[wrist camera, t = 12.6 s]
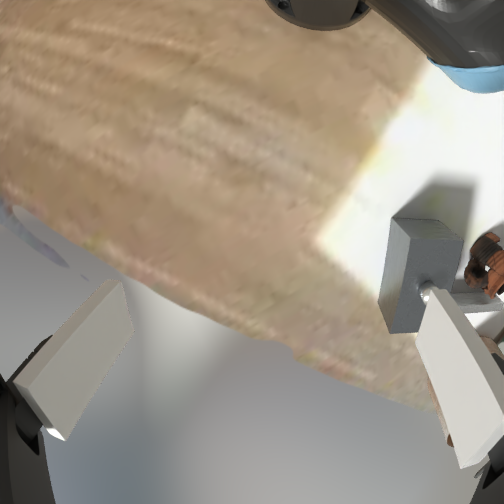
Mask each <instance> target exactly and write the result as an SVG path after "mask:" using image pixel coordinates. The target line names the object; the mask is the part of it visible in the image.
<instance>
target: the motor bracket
mask: <svg viewBox="0 0 504 504" xmlns="http://www.w3.org/2000/svg"><path fill="white" fill-rule="evenodd" d="M462 246H463V240H462V239H461V238H460V237H459V236H457V235H456V234H455V233H454V232H453V231H451V230H450V229H449V228H448V227H446V226H445V225H444V224H443V223H441V222H440V221H439V220H423V219H406V218H391V224H390V232H389V240H388V247H387V253H386V260H385V266H384V272H383V278H382V283H381V289H380V294H379V299H378V304H379V307H380V309H381V312H382V314H383V317H384V320H385V322H386V325H387V327H388V330H389V333H390V334H394V333H415V332H419V329H420V326H421V323H422V319H423V316H424V313H425V309H426V306H427V302H428V299H429V295H430V291H431V290H439V289H446V290H447V291H448V293H449V294H450V295H451V297H452V298H453V299H454V301H455V302H456V303H457V305H458V306H459V307H460V309H461V310H462V312H463V313H478V312H490V311H500V310H501V309H502V306H503V304H504V303H503V302H502V301H501V299H500V298H499V297H498V296H497V295H496V294H495V295H496V297H495V298H494V299H490V296H489V295H488V294H485V292H475V293H451V290H452V286H453V283H454V279H455V275H456V271H457V268H458V264H459V259H460V255H461V251H462Z"/></svg>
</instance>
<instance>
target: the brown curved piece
mask: <svg viewBox="0 0 504 504" xmlns="http://www.w3.org/2000/svg"><path fill="white" fill-rule="evenodd" d="M499 241H500V238H499V237H498V236H496V235H495V234H493V233H492V232H491V233H488V234H486V235H485V236H483V237H482V238H480V239H479V240H478V241H477V242H476V243H475V244H474V245H473V247H472V248H471V250H470V253H471V254H472V256H473V258H474V259H472V260H470V261H469V262H468V265H467V267H466V268H465V271H464V278H465V282H466V283H467V285H468V286H469V287H471V288H474V289H476V288H482V289H484V292H485V294H488V295H489V296H490V299H494V298H495V297H496V295H495V293H496V292H497V294H498V295H500V294H502V293H503V292H504V250H503V249H502V248H501V247H500V246H499V245H498V244H496V243H497V242H499ZM485 266H488V267H490V269H489V270H488V272H487V271H486V270H485Z"/></svg>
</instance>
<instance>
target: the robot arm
mask: <svg viewBox="0 0 504 504" xmlns="http://www.w3.org/2000/svg"><path fill="white" fill-rule="evenodd" d="M265 1H266V3H267V4H268V5H269V7H270V8H271V9H272V10H273V11H274V12H275V13H276V14H277V15H279V16H280V17H282V18H283V19H285V20H286V21H288V22H290V23H292V24H295V25H297V26H300V27H303V28H307V29H312V30H320V31H331V30H339V29H343V28H346V27H349V26H351V25H353V24H355V23H357V22H358V21H360V20H361V19H362V18H363V17H364V16H365V15H366V14H367V12H368V11H369V9H370V8H372V9H373V10H374V11H376V12H377V13H378V14H379V15H381V16H382V17H383V18H385V19H386V20H387V21H388V22H390V23H391V24H392V25H393V26H394V27H396V28H397V29H398V30H399V31H400V32H401V33H403V34H404V35H405V36H406V37H407V38H408V39H409V40H411V41H412V42H413V43H414V44H415V45H416V46H417V47H418V48H419V49H420V50H421V51H422V52H423V53H424V54H425V55H426V56H427V59H428V60H429V61H430V62H431V63H432V64H434V65H435V66H437V67H439V68H440V69H441V70H442V71H443V72H444V73H445V74H446V75H447V76H448V77H449V78H450V79H451V80H452V81H453V82H454V83H455V84H456V85H458V86H459V87H461V88H463V89H466V90H469V91H470V92H474V93H495V92H500V91H504V0H265ZM134 332H135V331H134V327H133V324H132V321H131V317H130V313H129V310H128V306H127V302H126V298H125V294H124V290H123V286H122V282H121V281H119V280H106V281H105V282H104V283H103V284H102V285H101V286H100V287H99V288H98V289H97V290H96V291H95V292H94V293H93V294H92V295H91V296H90V297H89V298H88V299H87V300H86V301H85V302H84V303H83V304H82V305H81V306H80V307H79V308H78V309H77V311H75V312H74V313H73V314H72V316H71V317H70V318H69V319H68V320H67V321H66V322H65V323H64V324H63V325H62V326H61V327H60V328H59V329H58V330H57V332H56V333H55V334H54V335H51V336H49V337H48V338H47V339H45V340H43V341H42V342H41V343H40V344H39V345H38V346H37V347H36V348H35V349H34V352H32V353H31V354H30V355H29V356H28V359H25V361H24V362H23V363H22V364H21V365H20V366H19V368H18V369H17V370H16V371H15V372H14V374H13V375H12V376H11V377H10V378H9V379H8V381H7V382H5V381H4V379H3V377H2V376H1V374H0V504H56V503H55V499H54V495H53V491H52V486H51V481H50V476H49V471H48V466H47V460H46V454H45V446H44V439H43V435H42V432H41V431H40V428H41V427H42V425H44V427H45V428H46V429H47V431H48V432H49V433H50V434H51V435H53V436H55V437H57V438H59V439H62V440H64V441H66V440H67V438H68V437H69V435H70V433H71V431H72V430H73V428H74V427H75V425H76V423H77V422H78V420H79V418H80V416H81V415H82V413H83V412H84V410H85V408H86V407H87V405H88V403H89V402H90V400H91V399H92V397H93V395H94V394H95V392H96V391H97V389H98V387H99V386H100V384H101V383H102V381H103V379H104V378H105V376H106V375H107V373H108V372H109V370H110V369H111V367H112V366H113V364H114V362H115V361H116V359H117V358H118V356H119V355H120V353H121V351H122V350H123V349H124V347H125V346H126V344H127V342H128V341H129V340H130V338H131V337H132V335H133V334H134ZM415 344H416V347H417V349H418V351H419V353H420V356H421V358H422V360H423V363H424V365H425V368H426V370H427V373H428V375H429V378H430V380H431V383H432V385H433V388H434V390H435V393H436V396H437V398H438V401H439V404H440V406H441V409H442V412H443V415H444V418H445V421H446V424H447V426H448V429H449V433H450V436H451V439H452V442H453V445H454V448H455V451H456V455H457V458H458V462H459V465H460V468H461V469H462V468H465V467H468V466H471V465H474V464H477V463H479V462H480V461H481V460H482V459H483V458H484V457H485V456H486V455H487V454H488V455H489V458H490V460H489V462H488V463H487V464H486V465H485V466H483V467H482V468H481V469H480V470H479V471H478V472H477V473H476V475H475V477H474V478H477V477H478V476H479V475H481V474H482V473H483V474H482V476H481V478H480V481H479V484H478V486H477V489H476V491H475V493H474V495H473V498H472V500H471V502H470V504H504V360H503V359H502V358H501V357H500V356H498V355H497V354H496V353H491V354H490V352H489V350H488V349H487V347H486V346H485V344H484V343H483V341H482V339H481V338H480V336H479V335H478V333H477V332H476V330H475V329H474V327H473V326H472V325H471V323H470V322H469V320H468V319H467V317H466V316H465V314H464V313H463V312H462V310H461V309H460V307H459V306H458V305H457V303H456V302H455V301H454V299H453V298H452V297H451V295H450V294H449V293H448V291H447V290H446V289H439V290H431V291H430V295H429V299H428V302H427V306H426V309H425V313H424V316H423V319H422V323H421V326H420V329H419V332H418V335H417V338H416V341H415Z"/></svg>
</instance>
